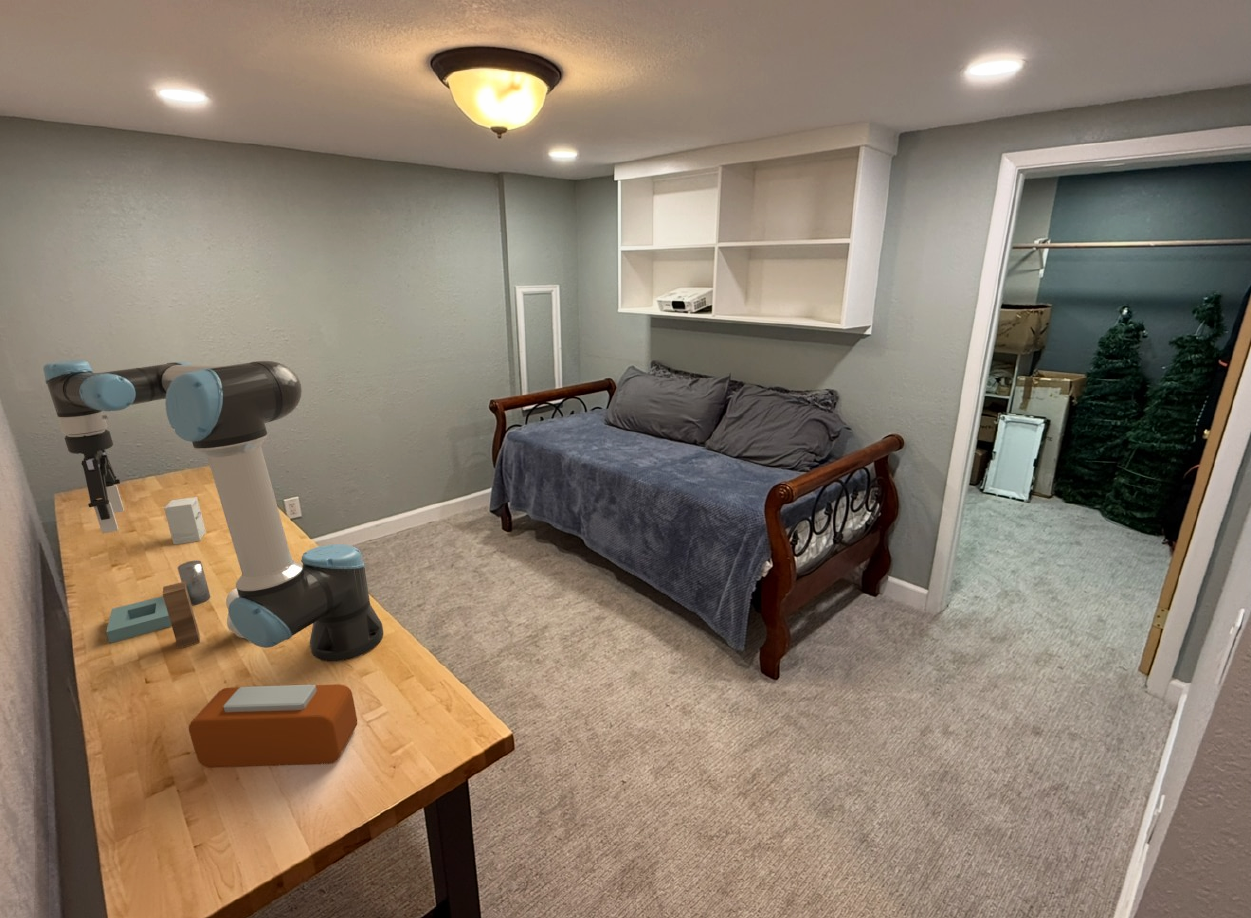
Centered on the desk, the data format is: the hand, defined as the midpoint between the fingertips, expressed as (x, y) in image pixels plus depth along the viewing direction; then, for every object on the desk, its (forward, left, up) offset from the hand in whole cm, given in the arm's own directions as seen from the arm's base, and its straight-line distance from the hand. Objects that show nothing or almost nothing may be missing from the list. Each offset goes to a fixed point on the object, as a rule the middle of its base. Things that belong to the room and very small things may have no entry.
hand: (113, 521), depth 136 cm
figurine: (-20, -21, -27) cm, 40 cm away
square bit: (-16, -9, -27) cm, 32 cm away
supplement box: (+52, -9, -27) cm, 59 cm away
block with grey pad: (-65, -23, -27) cm, 74 cm away
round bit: (+5, -11, -27) cm, 29 cm away
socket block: (0, 0, -27) cm, 27 cm away
